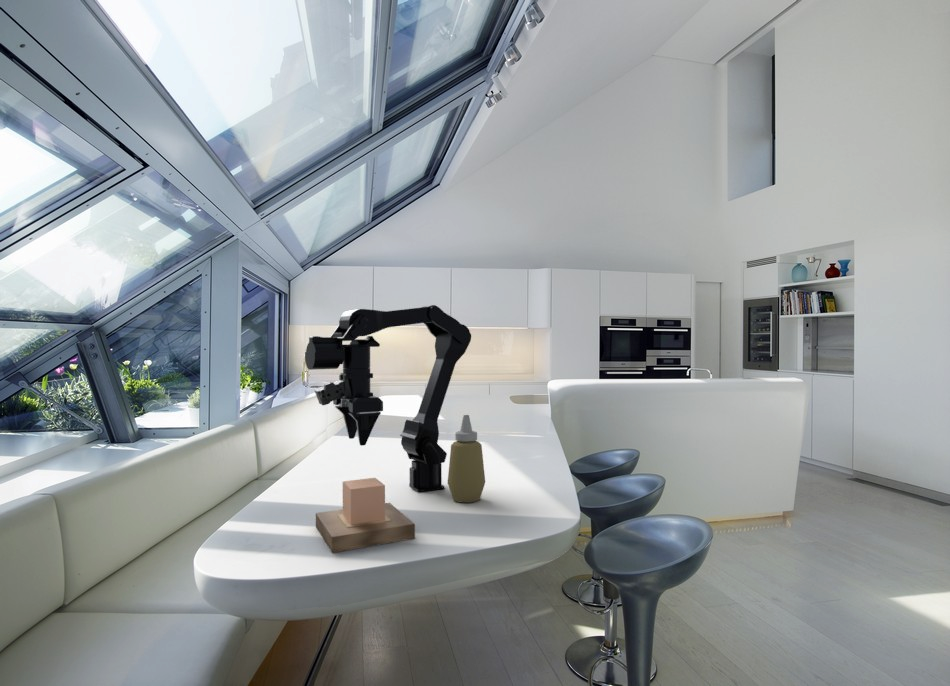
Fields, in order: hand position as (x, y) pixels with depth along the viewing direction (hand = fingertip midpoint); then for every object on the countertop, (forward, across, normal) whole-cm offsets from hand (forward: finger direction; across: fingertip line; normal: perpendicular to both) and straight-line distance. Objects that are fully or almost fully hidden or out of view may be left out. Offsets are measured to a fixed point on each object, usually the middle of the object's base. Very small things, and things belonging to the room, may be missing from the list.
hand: (356, 441), depth 116 cm
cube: (+10, +20, -4) cm, 23 cm away
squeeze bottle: (+13, +10, +21) cm, 27 cm away
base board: (+12, +20, -4) cm, 24 cm away
